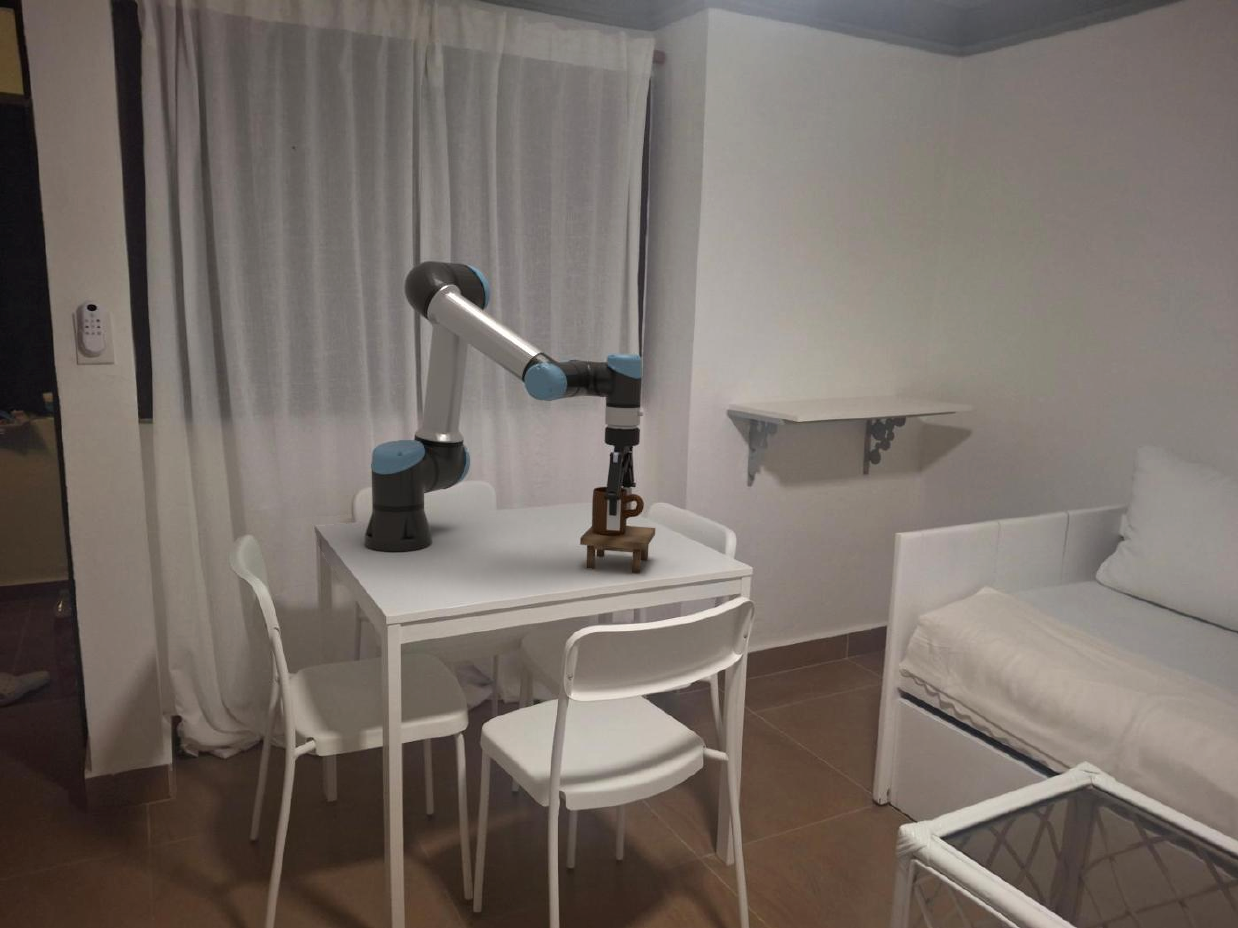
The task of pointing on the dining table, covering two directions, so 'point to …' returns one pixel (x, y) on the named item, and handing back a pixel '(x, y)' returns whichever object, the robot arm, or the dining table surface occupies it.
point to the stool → (619, 544)
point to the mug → (601, 511)
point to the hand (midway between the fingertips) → (619, 522)
